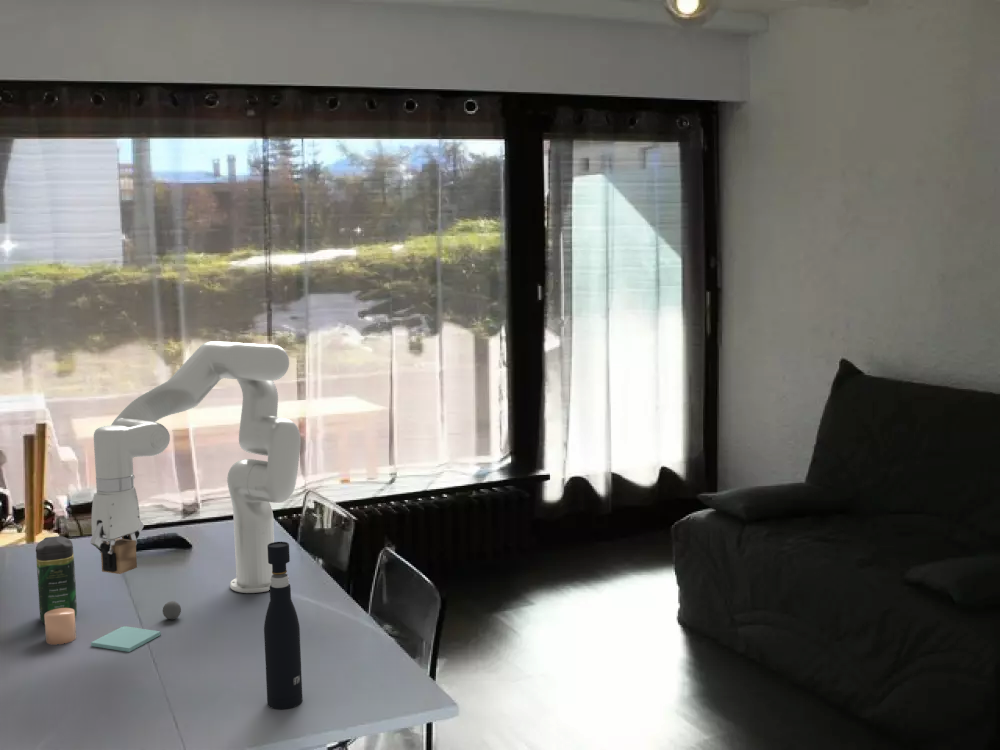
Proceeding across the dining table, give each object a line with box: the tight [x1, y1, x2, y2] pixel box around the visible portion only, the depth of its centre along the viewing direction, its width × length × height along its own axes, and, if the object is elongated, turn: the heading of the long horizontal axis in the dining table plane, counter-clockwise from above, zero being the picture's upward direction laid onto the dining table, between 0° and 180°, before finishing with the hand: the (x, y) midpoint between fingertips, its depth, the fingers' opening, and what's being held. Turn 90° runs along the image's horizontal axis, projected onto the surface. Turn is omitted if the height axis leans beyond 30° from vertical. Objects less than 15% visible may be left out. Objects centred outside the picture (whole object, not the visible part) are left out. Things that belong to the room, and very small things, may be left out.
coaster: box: [90, 625, 162, 653], centre depth 227 cm, size 10×10×1 cm
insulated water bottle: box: [263, 541, 303, 710], centre depth 193 cm, size 6×6×30 cm
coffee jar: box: [35, 535, 78, 625], centre depth 240 cm, size 10×8×19 cm
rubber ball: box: [162, 600, 182, 620], centre depth 239 cm, size 4×4×4 cm
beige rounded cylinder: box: [44, 608, 77, 646], centre depth 228 cm, size 6×6×6 cm
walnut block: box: [100, 537, 138, 575], centre depth 226 cm, size 5×5×6 cm
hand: (119, 566), depth 226 cm, fingers closed on walnut block, 5 cm apart
